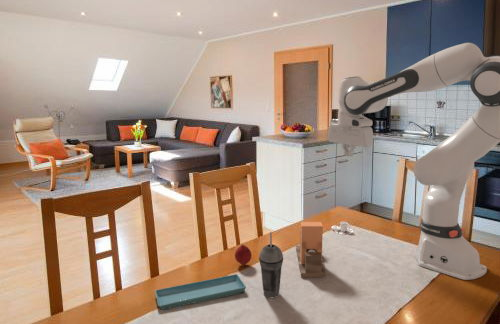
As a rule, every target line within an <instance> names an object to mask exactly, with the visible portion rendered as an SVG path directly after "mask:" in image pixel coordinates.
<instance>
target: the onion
mask: <svg viewBox="0 0 500 324" xmlns="http://www.w3.org/2000/svg"><path fill="white" fill-rule="evenodd" d="M234 259H235V260H236V262H237V263H238V264H240V265H241V266H244V265H247V264H248V263H249V262H251V260H252V251H251V250H250V248H249V247H248V246H247V245H245V244H244V243H243V242H242V243H241V244H240V246H238V247H237V248H236V250H235V251H234Z"/></svg>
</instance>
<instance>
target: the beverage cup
mask: <svg viewBox="0 0 500 324" xmlns="http://www.w3.org/2000/svg"><path fill="white" fill-rule="evenodd" d="M272 237H273V235H272V232H269V244H267V245H265V246H263V247H262V248H261V250H260V251H259V256H258V260H259V264H260V265H259V266H260V271H261V282H262V290H263V296H264V297H266V296H267V297H266V298H268V297H275V298H277V297H278V296H279V295H280V289H281V288H280V286H281V276H282V266H283V262H284V255H283V252H282V249H281V248H280V247H279V246H278V245H277V244H276V245H275V244H273V241H272V240H273V239H272ZM276 296H277V297H276Z"/></svg>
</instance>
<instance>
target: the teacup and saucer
mask: <svg viewBox="0 0 500 324" xmlns="http://www.w3.org/2000/svg"><path fill="white" fill-rule="evenodd" d="M347 229H348V230H347ZM349 229H350V230H352V231H351V233H349V232H348V233H349V234H348V235H351V234H353V233H354V230H353V229H352V228H351V225H350V224H349V223H348V222H347V221H340V222H339V226H338V225H332V226H331V230H333V232H334V233H336V234H338V232H339V231H341V232H342V233H346V232H347V231H349ZM336 231H337V232H336ZM345 231H346V232H345ZM341 232H339V235H343V234H342V233H341Z"/></svg>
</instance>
